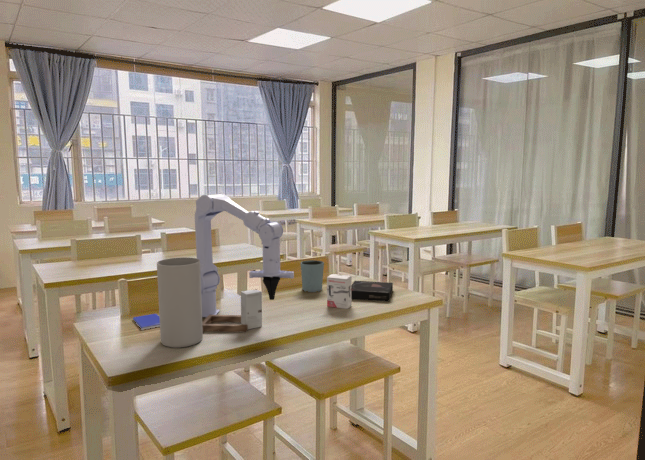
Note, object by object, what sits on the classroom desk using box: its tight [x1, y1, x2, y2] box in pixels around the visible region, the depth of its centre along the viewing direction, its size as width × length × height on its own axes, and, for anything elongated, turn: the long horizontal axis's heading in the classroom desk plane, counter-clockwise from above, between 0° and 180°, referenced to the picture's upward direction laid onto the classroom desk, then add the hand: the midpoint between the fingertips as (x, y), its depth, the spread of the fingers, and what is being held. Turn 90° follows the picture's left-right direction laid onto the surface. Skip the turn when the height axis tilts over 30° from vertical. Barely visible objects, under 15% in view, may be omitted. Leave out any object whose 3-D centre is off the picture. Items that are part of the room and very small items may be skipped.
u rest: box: [202, 314, 249, 333], centre depth 161 cm, size 15×11×2 cm
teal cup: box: [300, 259, 325, 293], centre depth 207 cm, size 10×10×12 cm
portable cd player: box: [351, 280, 394, 303], centre depth 199 cm, size 16×17×4 cm
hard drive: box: [132, 313, 160, 331], centre depth 165 cm, size 2×8×12 cm
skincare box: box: [240, 289, 263, 330], centre depth 160 cm, size 6×4×12 cm
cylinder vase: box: [156, 256, 204, 349], centre depth 146 cm, size 12×12×25 cm
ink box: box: [326, 273, 352, 310], centre depth 182 cm, size 9×5×12 cm, turn 68°
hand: (272, 298), depth 159 cm, fingers closed
